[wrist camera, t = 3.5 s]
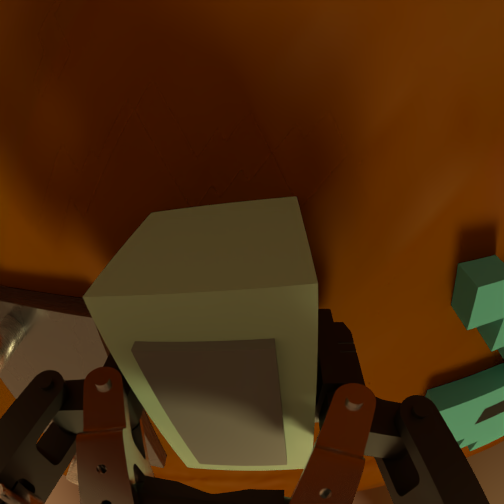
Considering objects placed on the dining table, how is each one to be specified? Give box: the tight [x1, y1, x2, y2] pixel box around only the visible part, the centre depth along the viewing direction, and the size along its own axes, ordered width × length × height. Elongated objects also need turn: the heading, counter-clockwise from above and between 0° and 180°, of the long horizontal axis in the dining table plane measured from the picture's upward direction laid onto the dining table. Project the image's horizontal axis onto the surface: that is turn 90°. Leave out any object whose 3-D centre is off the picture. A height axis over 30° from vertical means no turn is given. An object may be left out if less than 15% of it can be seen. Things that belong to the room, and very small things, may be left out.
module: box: [83, 196, 318, 470], centre depth 10 cm, size 9×5×5 cm, turn 7°
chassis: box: [0, 286, 167, 485], centre depth 14 cm, size 16×12×5 cm
